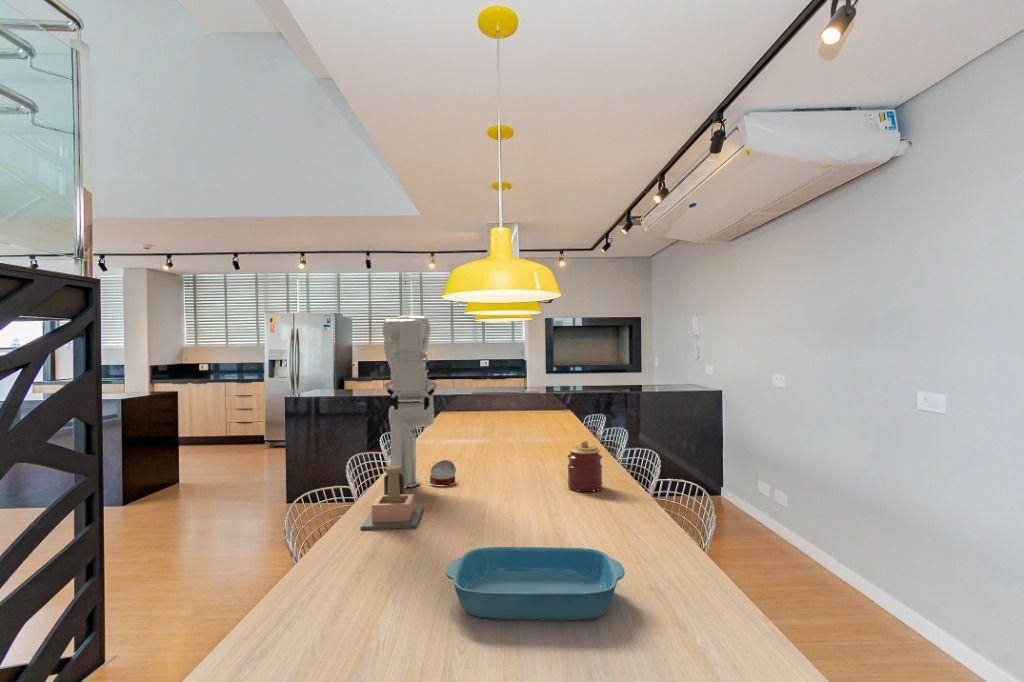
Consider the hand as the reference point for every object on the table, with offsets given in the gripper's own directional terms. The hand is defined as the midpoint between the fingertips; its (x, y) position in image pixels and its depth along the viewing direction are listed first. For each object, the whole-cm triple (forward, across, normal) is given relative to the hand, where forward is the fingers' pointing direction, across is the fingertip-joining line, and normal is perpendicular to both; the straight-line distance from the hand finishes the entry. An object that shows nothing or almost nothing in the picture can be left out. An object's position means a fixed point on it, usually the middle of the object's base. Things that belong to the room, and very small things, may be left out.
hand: (411, 409), depth 169 cm
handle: (+32, +4, +10) cm, 33 cm away
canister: (+33, -61, -22) cm, 73 cm away
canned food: (+34, -7, -32) cm, 48 cm away
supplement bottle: (+34, +7, -9) cm, 35 cm away
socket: (+33, +4, +10) cm, 34 cm away
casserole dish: (+31, -36, +63) cm, 79 cm away
